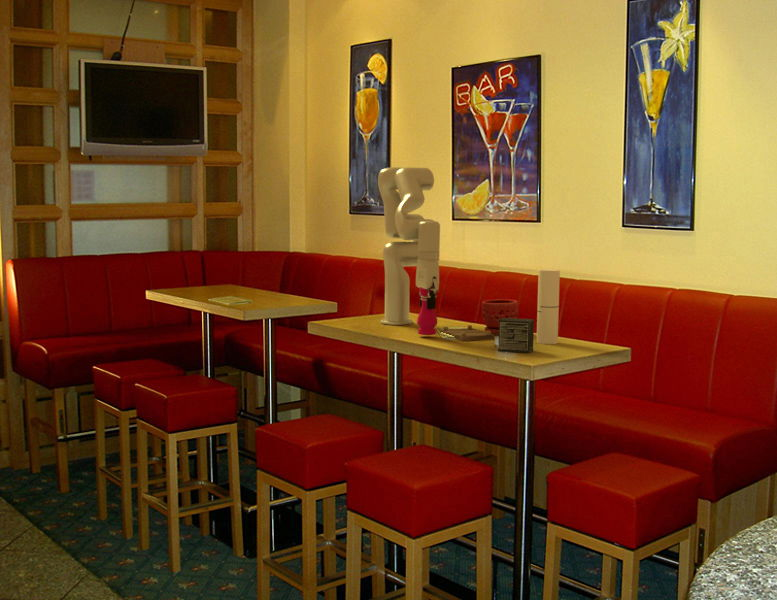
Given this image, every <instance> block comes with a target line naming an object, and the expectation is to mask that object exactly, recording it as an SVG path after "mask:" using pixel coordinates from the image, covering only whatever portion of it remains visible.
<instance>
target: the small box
mask: <svg viewBox="0 0 777 600" xmlns="http://www.w3.org/2000/svg"><path fill="white" fill-rule="evenodd" d="M534 324H535V320H534V319H533V318H532V319H531V318H517V319H516V318H502V319H499V335H498V345H497V346H498V348H497V351H498V352H505V353H520V354H521V353H522V354H530V353H532V352H533V351H534V335H535V334H534V332H535V331H534V330H535V328H534V326H535V325H534Z"/></svg>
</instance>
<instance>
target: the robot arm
mask: <svg viewBox="0 0 777 600" xmlns="http://www.w3.org/2000/svg"><path fill="white" fill-rule="evenodd" d="M377 177H378V178H377V184H378V190H379V194H380V197H381V199H382V202H383V213H384V226H385V227H384V228H385V233H386V236H387V237H388V238H390V239H400V240H403V241H391V242H388V243H386V244H385V245H384V246H383V248H382V257H383V265H384V266H383V267H384V318H382V319H380V324H383V325H391V326H403V325H404V326H405V325H406V326H407V325H412V324H413V323H414V320H413V319H412V318H410V287H411V285H410V284H411V283H410V281H411V280H410V276H409V274H408V272H407V271H406V270H405V268H406V267H416V272H415V287H417V289H419V288H420V287H421V288H423V289H426V290H427V289H428V298H427V309H434V310H435V309H436V308H437V307H436V306H437V305H436V304H437V303H436V302H437V301H436V300H437V295H438V292H439V290H440V289H439V286H440V266H439V264H440V263H439V261H440V250H441V249H440V244H441V243H440V242H441V224H440V222H439V221H436V220H434V219H429V218H424V216H423V215H421V214H417V213H411V212H414V211H416V210H418V209H420V208H421V207H422V206H423V205H424V203H425V195H424V193H423V191H431V189H432V188H433V187H434V184H435V177H434V174H433V172H432V170H431V169H430V168H428V167H402V166H400V167H386V168H383V169H381V170H380V171H379V173H378V176H377ZM404 267H405V268H404ZM430 287H433V288H434V289H430ZM430 291H431V293H430ZM418 295H419V307H420V308H422V300H421V296H422V294H421V293H420V291H419V293H418Z"/></svg>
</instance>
